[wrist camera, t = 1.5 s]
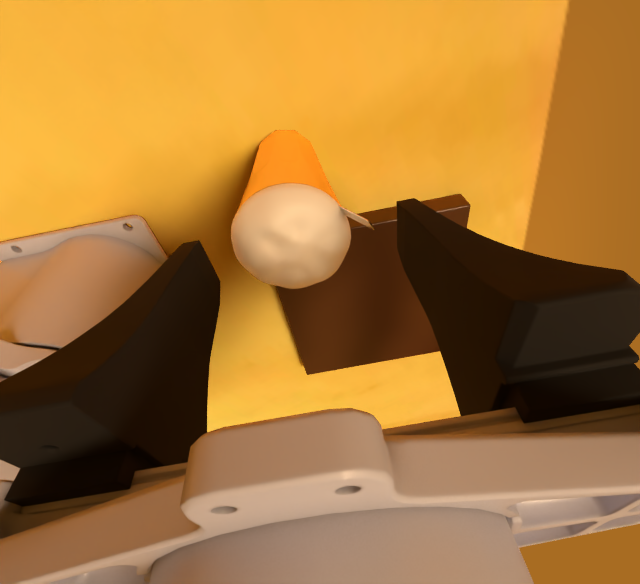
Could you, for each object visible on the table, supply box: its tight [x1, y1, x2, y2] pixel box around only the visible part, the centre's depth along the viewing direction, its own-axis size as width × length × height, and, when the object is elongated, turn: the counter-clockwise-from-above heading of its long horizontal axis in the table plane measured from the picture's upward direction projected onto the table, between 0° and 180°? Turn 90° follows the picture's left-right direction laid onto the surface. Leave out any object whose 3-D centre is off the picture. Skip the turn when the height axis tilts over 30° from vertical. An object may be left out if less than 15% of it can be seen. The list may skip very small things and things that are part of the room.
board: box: [276, 194, 470, 375], centre depth 26 cm, size 13×15×2 cm
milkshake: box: [231, 130, 375, 289], centre depth 15 cm, size 4×5×10 cm
